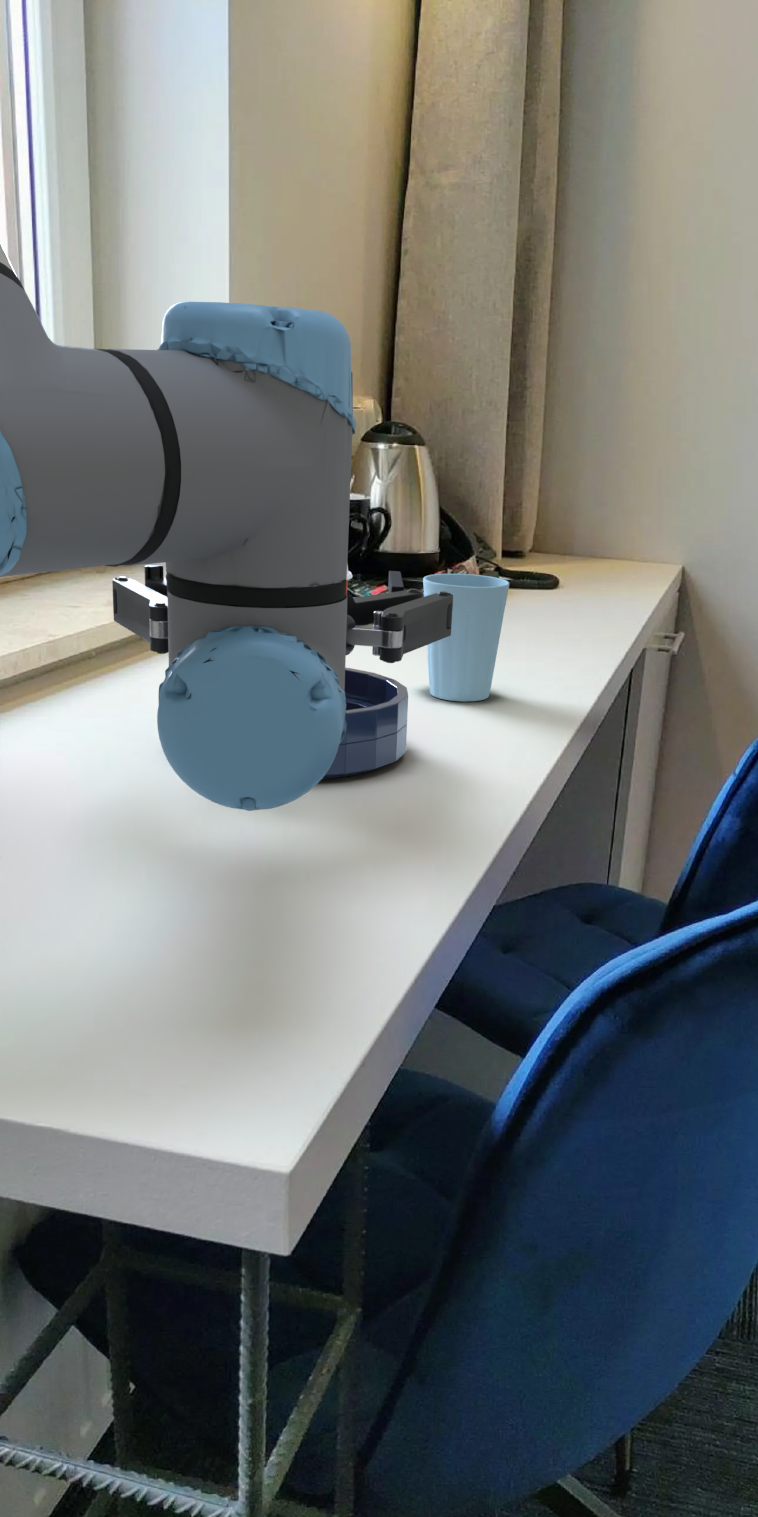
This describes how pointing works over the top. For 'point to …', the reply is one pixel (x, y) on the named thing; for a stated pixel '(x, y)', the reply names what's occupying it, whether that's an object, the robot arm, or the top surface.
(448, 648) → the cup
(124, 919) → the top surface
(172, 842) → the top surface
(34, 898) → the top surface
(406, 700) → the bowl
